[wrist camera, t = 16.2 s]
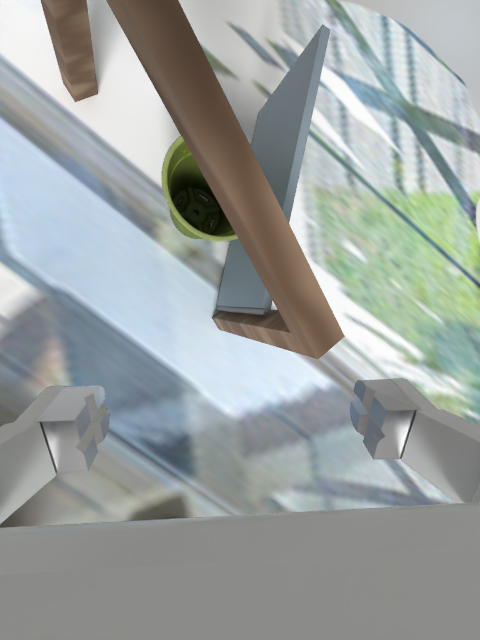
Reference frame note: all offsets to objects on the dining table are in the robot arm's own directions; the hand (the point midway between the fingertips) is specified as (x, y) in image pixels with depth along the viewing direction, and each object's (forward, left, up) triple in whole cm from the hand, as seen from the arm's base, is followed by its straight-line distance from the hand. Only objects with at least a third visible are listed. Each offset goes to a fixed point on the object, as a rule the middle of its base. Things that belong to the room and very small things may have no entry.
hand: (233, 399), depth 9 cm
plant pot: (+2, +17, -33) cm, 37 cm away
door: (+9, +20, -32) cm, 39 cm away
